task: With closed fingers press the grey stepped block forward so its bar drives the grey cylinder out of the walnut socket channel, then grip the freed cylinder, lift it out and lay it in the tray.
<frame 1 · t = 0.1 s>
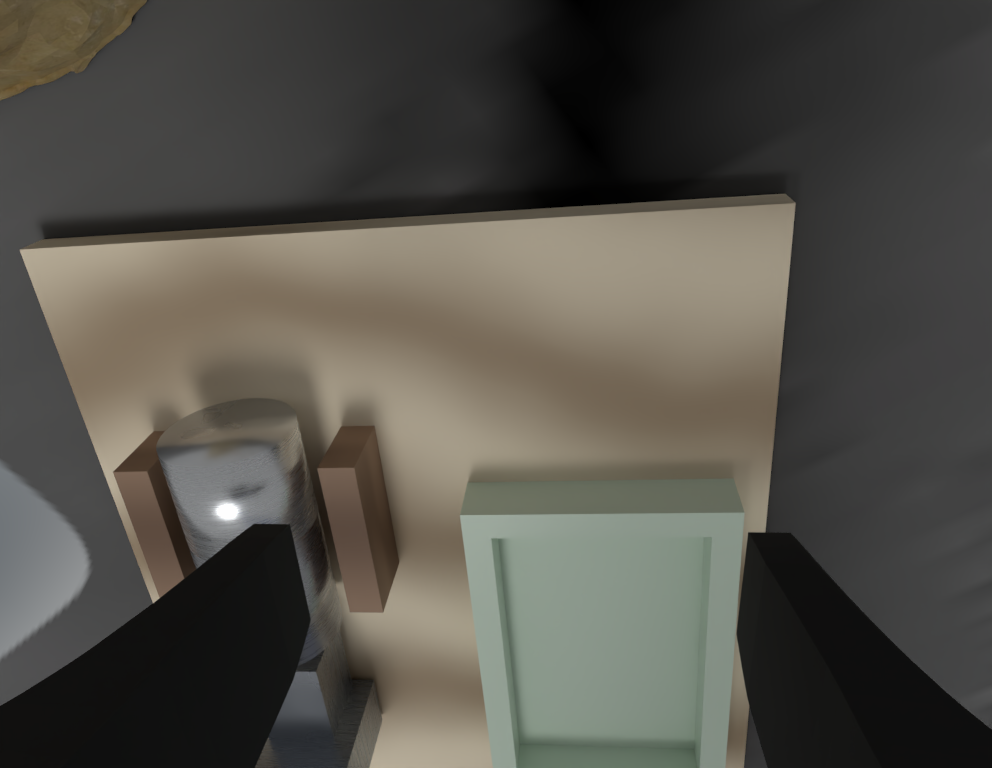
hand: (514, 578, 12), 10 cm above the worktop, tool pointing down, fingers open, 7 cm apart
board: (438, 537, 24), on the worktop
grey cylinder: (280, 498, 23), point 1 cm above the worktop, touching board
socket: (291, 480, 24), resting on board
grey stepped block: (300, 722, 24), point 3 cm above the worktop, slide at 0.0 cm
tray: (601, 608, 25), resting on board
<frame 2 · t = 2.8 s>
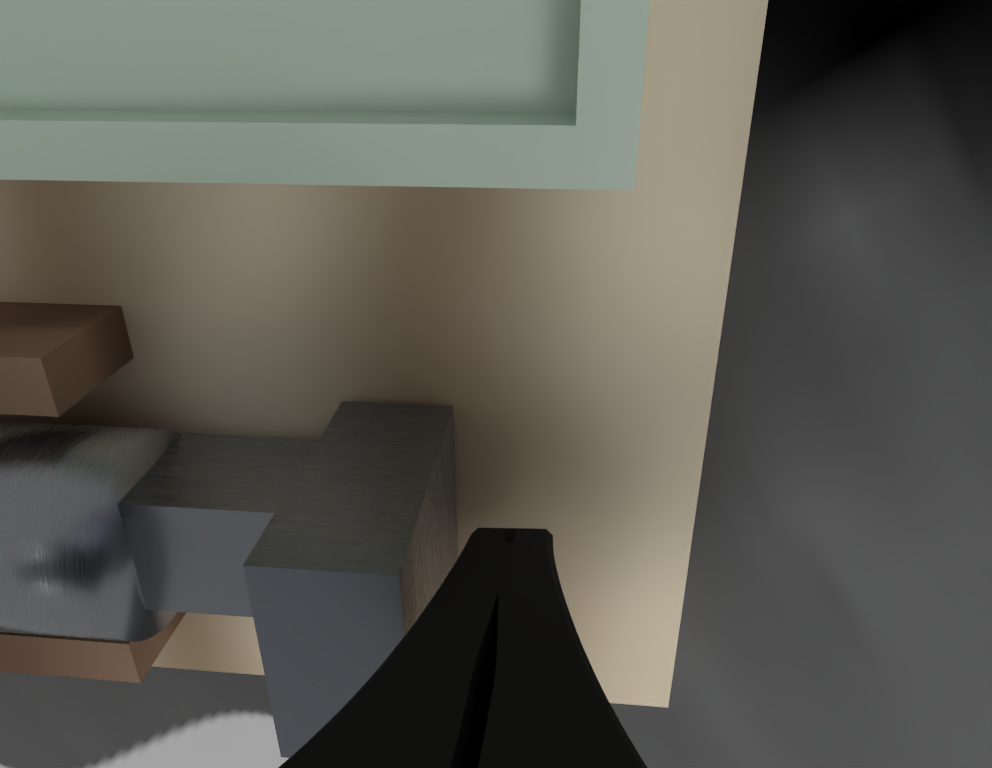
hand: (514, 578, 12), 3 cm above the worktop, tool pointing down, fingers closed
board: (126, 228, 14), on the worktop
grey cylinder: (34, 462, 15), point 1 cm above the worktop, touching grey stepped block
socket: (71, 436, 16), resting on board
grey stepped block: (284, 560, 12), point 3 cm above the worktop, slide at 1.1 cm, touching grey cylinder, gripper
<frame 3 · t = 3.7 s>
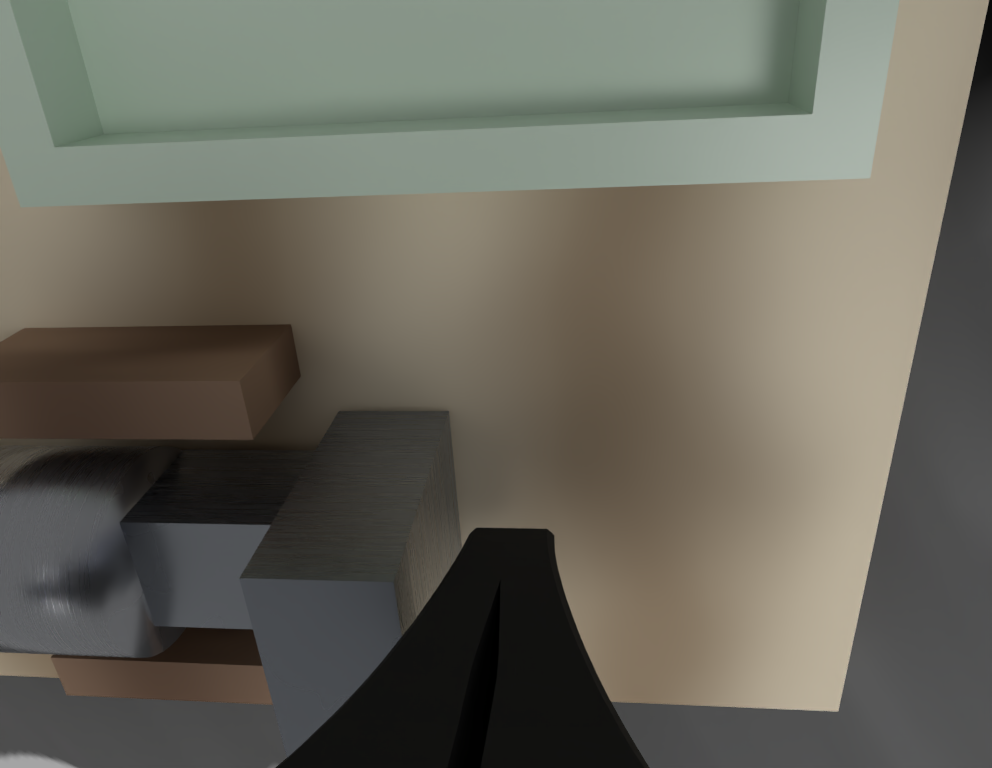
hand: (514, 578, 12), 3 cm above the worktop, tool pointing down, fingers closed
board: (288, 245, 13), on the worktop
grey cylinder: (42, 484, 15), point 1 cm above the worktop, touching board, grey stepped block
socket: (221, 459, 16), resting on board
grey stepped block: (287, 571, 12), point 3 cm above the worktop, slide at 4.3 cm, touching grey cylinder, gripper
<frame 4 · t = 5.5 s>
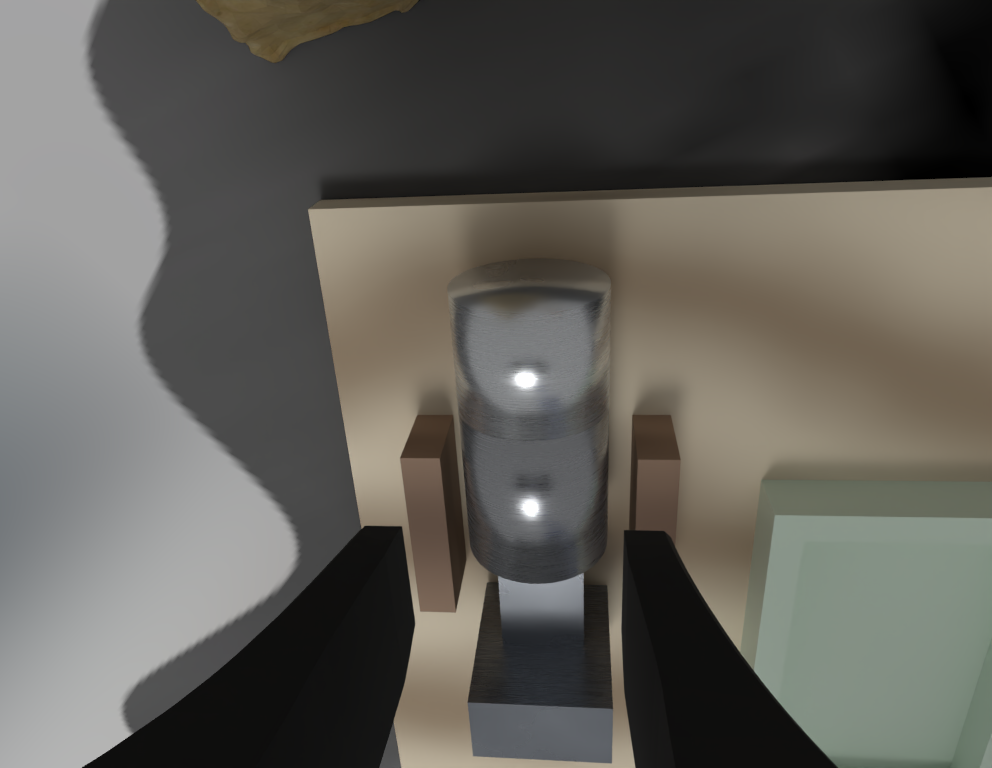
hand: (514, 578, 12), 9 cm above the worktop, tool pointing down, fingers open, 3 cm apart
board: (696, 538, 23), on the worktop
grey cylinder: (541, 387, 20), point 1 cm above the worktop, touching board, grey stepped block
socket: (545, 472, 22), resting on board
grey stepped block: (542, 625, 20), point 3 cm above the worktop, slide at 4.3 cm, touching grey cylinder
tray: (861, 618, 23), resting on board
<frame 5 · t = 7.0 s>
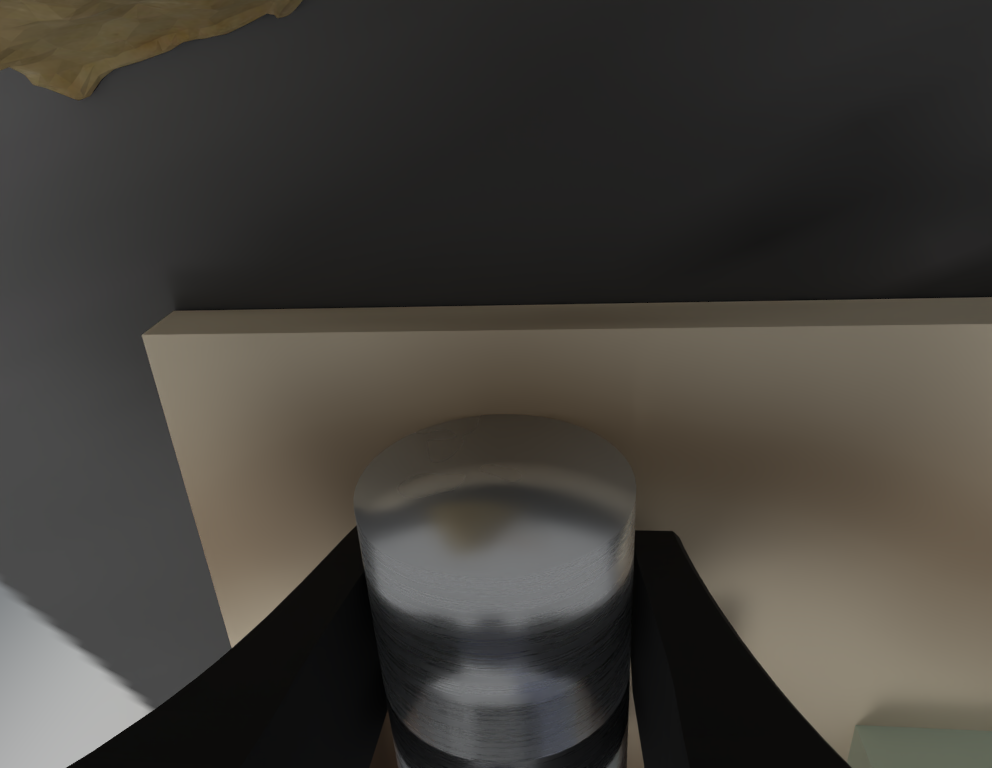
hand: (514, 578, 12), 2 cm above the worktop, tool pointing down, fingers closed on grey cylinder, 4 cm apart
grey cylinder: (520, 593, 13), point 1 cm above the worktop, touching board, gripper
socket: (530, 686, 15), resting on board
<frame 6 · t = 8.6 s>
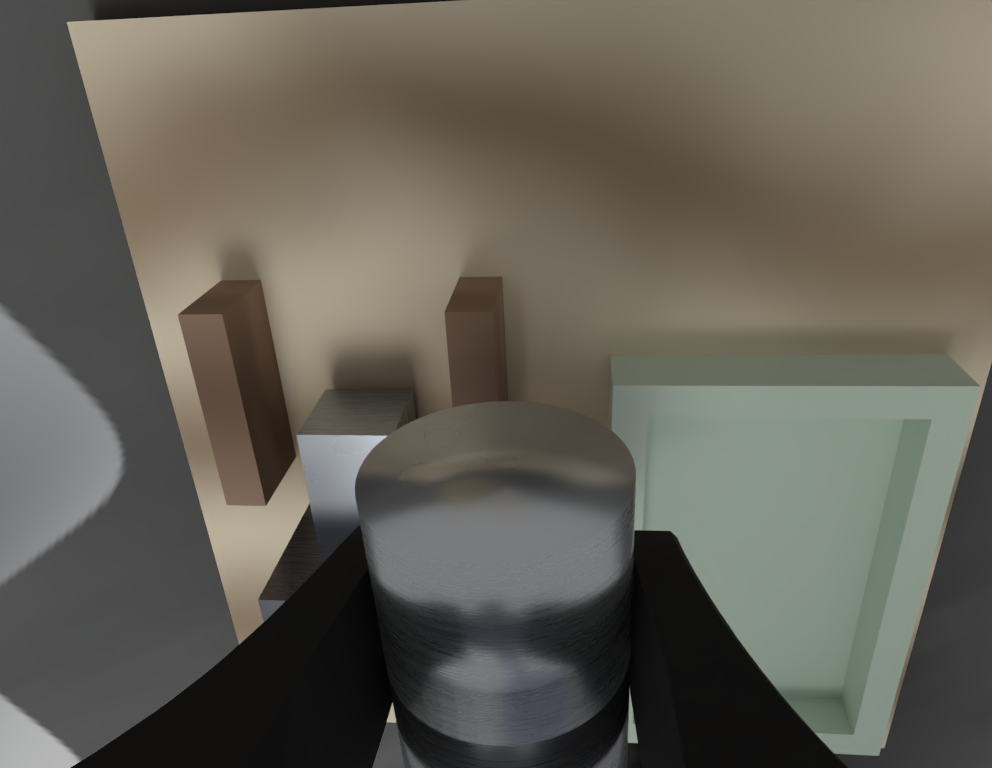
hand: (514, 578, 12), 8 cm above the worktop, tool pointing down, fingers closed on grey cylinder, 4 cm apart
board: (554, 433, 20), on the worktop
grey cylinder: (517, 578, 13), point 7 cm above the worktop, touching gripper
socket: (381, 356, 20), resting on board
grey stepped block: (361, 520, 18), point 3 cm above the worktop, slide at 4.3 cm
tray: (741, 527, 21), resting on board
when the fingers open (3 cm above the worktop, at t = 10.2 s): grey cylinder stays where it is, resting on tray.
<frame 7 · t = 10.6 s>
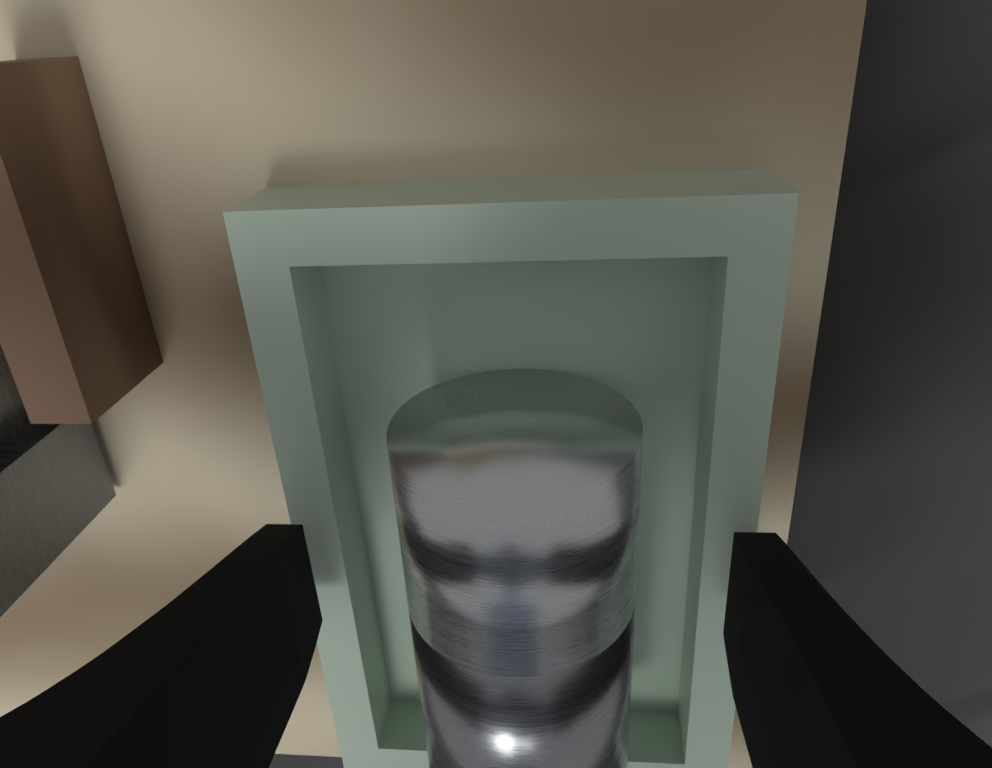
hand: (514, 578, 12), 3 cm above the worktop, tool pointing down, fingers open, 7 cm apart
board: (242, 329, 14), on the worktop
grey cylinder: (521, 540, 14), point 1 cm above the worktop, touching tray
tray: (526, 467, 15), resting on board
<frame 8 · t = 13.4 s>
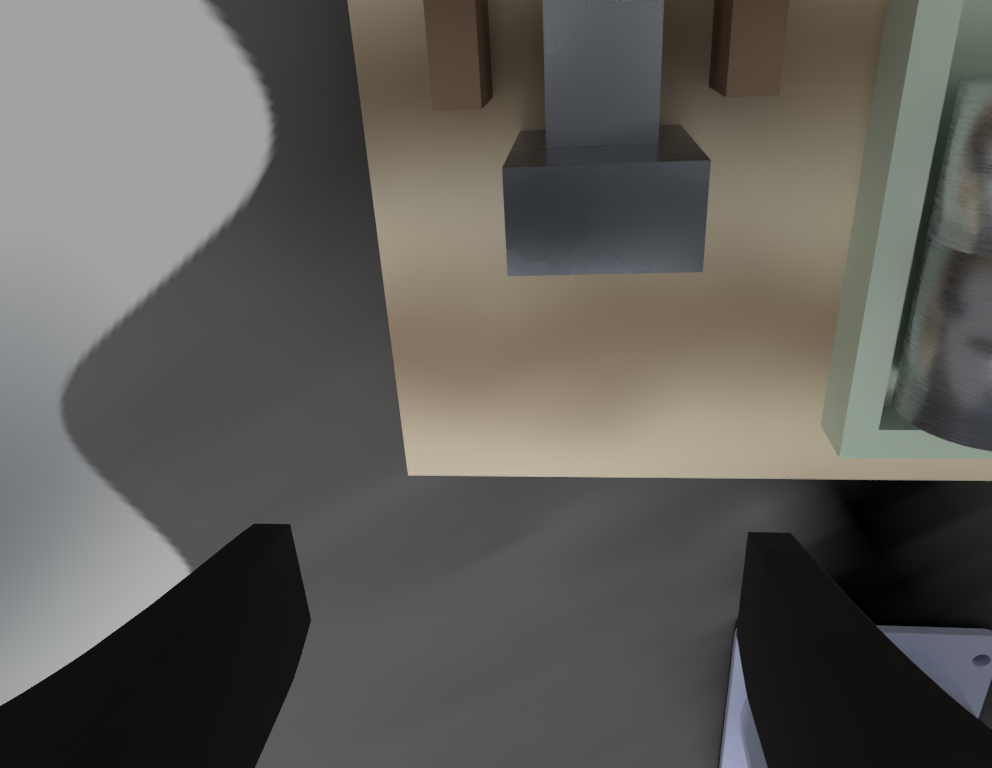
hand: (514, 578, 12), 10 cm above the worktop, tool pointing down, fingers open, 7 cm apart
board: (797, 68, 17), on the worktop
grey stepped block: (601, 117, 15), point 3 cm above the worktop, slide at 4.3 cm
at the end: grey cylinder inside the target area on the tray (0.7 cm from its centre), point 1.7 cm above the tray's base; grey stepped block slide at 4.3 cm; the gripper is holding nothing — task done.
